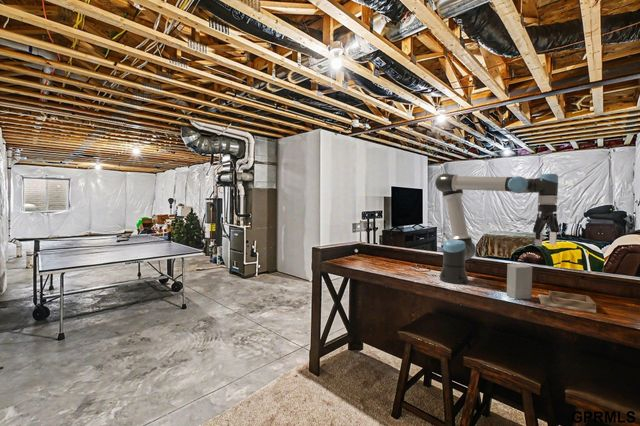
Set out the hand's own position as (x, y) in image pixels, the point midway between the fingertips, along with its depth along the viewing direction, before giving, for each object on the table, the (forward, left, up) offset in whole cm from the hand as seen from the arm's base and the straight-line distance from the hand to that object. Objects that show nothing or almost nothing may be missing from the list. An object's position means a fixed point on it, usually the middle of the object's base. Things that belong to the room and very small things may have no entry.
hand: (545, 245), depth 147 cm
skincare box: (-12, -19, -24) cm, 33 cm away
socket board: (+5, -19, -24) cm, 31 cm away
